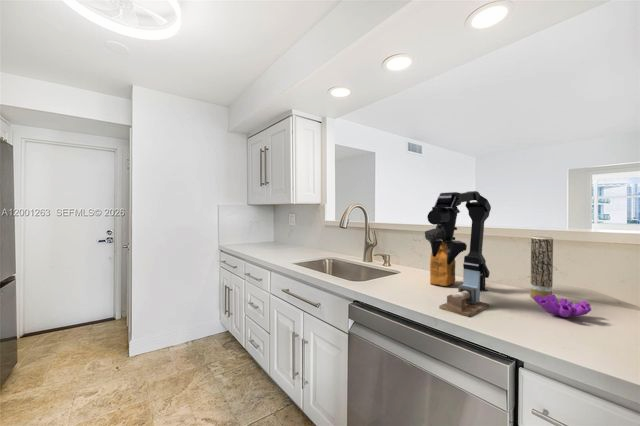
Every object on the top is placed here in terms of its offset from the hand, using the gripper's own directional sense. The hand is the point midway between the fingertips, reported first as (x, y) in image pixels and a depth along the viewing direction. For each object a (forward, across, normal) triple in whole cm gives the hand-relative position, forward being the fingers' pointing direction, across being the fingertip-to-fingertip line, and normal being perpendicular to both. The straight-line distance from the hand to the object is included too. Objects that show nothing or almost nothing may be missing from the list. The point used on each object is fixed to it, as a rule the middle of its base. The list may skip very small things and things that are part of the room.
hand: (441, 260), depth 112 cm
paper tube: (+11, +14, +38) cm, 42 cm away
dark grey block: (+10, +15, +2) cm, 18 cm away
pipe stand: (+12, +16, 0) cm, 20 cm away
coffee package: (+17, -13, +14) cm, 26 cm away
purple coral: (+9, +29, +26) cm, 40 cm away
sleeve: (+10, +14, +4) cm, 18 cm away
